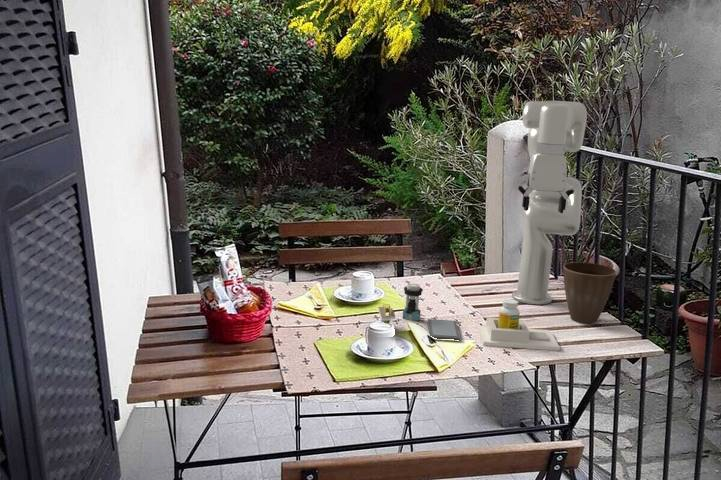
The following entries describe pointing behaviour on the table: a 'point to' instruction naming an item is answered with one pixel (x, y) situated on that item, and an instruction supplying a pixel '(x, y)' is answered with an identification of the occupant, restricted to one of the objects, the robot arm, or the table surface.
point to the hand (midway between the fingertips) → (543, 211)
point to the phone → (443, 329)
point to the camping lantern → (412, 302)
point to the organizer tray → (516, 336)
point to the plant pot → (587, 290)
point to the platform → (383, 313)
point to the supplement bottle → (509, 315)
